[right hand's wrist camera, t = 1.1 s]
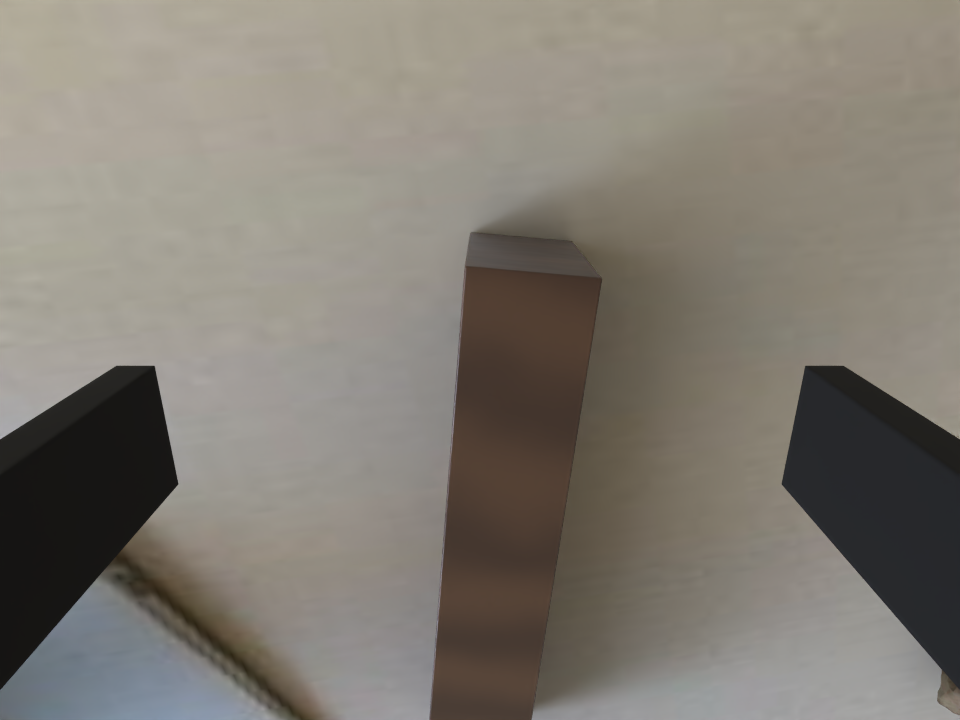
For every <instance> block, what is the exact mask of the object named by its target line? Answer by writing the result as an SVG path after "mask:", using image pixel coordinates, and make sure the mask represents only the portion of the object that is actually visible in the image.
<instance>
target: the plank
mask: <svg viewBox="0 0 960 720" xmlns="http://www.w3.org/2000/svg"><path fill="white" fill-rule="evenodd" d="M601 282H602V278H601V277H600V276H599V274H598V273H597V272H596V271H595V269H594V268H593V267H592V266H591V264H590V263H589V262H588V261H587V259H586V258H585V257H584V256H583V254H582V253H581V252H580V251H579V249H578V248H577V247H576V246H575V244H574V243H573V242H572V241H562V240H551V239H539V238H528V237H517V236H505V235H494V234H483V233H470V238H469V244H468V251H467V257H466V263H465V271H464V284H463V297H462V309H461V322H460V335H459V348H458V361H457V373H456V386H455V399H454V412H453V425H452V437H451V450H450V463H449V476H448V489H447V501H446V514H445V527H444V540H443V553H442V565H441V578H440V591H439V604H438V616H437V629H436V642H435V655H434V668H433V680H432V693H431V706H430V719H429V720H532V713H533V707H534V701H535V695H536V688H537V682H538V676H539V670H540V664H541V657H542V651H543V645H544V639H545V632H546V626H547V620H548V614H549V607H550V601H551V595H552V589H553V582H554V576H555V570H556V564H557V557H558V551H559V545H560V539H561V532H562V526H563V520H564V514H565V507H566V501H567V495H568V489H569V482H570V476H571V470H572V464H573V457H574V451H575V445H576V439H577V432H578V426H579V420H580V414H581V407H582V401H583V395H584V389H585V382H586V376H587V370H588V364H589V357H590V351H591V345H592V339H593V332H594V326H595V320H596V314H597V307H598V301H599V295H600V289H601Z"/></svg>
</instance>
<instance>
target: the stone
mask: <svg viewBox="0 0 960 720" xmlns="http://www.w3.org/2000/svg"><path fill="white" fill-rule="evenodd" d="M937 701H938V702H939V704H941V705H943V706H945V707H946V708H948V709H949V710H950V711H952V712H953V713H955V714H958V715H960V690H959V689H958V687H957V686H956V685H955V684H954V683H953V682H952V680H951V679H950V678H949V677H948V676H947V675H946V674H945V672H944V671H943V670H942V675H941V687H940V689H939V691H938V698H937Z"/></svg>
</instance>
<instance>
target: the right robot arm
mask: <svg viewBox="0 0 960 720" xmlns="http://www.w3.org/2000/svg"><path fill="white" fill-rule="evenodd" d="M177 485H178V480H177V475H176V470H175V465H174V460H173V455H172V450H171V445H170V440H169V435H168V430H167V425H166V420H165V415H164V410H163V405H162V400H161V395H160V391H159V386H158V381H157V376H156V371H155V366H116V367H114V368H112V369H111V370H109V371H108V372H106V373H104V374H103V375H101V376H100V377H98V378H97V379H95V380H93V381H92V382H90V383H89V384H87V385H86V386H84V387H82V388H81V389H79V390H78V391H76V392H74V393H73V394H71V395H70V396H68V397H67V398H65V399H63V400H62V401H60V402H59V403H57V404H56V405H54V406H52V407H51V408H49V409H48V410H46V411H44V412H43V413H41V414H40V415H38V416H37V417H35V418H33V419H32V420H30V421H29V422H27V423H26V424H24V425H22V426H21V427H19V428H18V429H16V430H14V431H13V432H11V433H10V434H8V435H7V436H5V437H3V438H2V439H0V690H1V689H2V687H3V686H4V685H5V684H6V683H7V682H8V680H9V679H10V678H11V677H12V676H13V675H14V674H15V672H16V671H17V670H18V669H19V668H20V667H21V665H22V664H23V663H24V662H25V661H26V660H27V659H28V657H29V656H30V655H31V654H32V653H33V652H34V650H35V649H36V648H37V647H38V646H39V645H40V644H41V642H42V641H43V640H44V639H45V638H46V637H47V635H48V634H49V633H50V632H51V631H52V630H53V628H54V627H55V626H56V625H57V624H58V623H59V622H60V620H61V619H62V618H63V617H64V616H65V615H66V613H67V612H68V611H69V610H70V609H71V608H72V607H73V605H74V604H75V603H76V602H77V601H78V600H79V598H80V597H81V596H82V595H83V594H84V593H85V592H86V590H87V589H88V588H89V587H90V586H91V585H92V583H93V582H94V581H95V580H96V579H97V578H98V576H99V575H100V574H101V573H102V572H103V571H104V570H105V568H106V567H107V566H108V565H109V564H110V563H111V561H112V560H113V559H114V558H115V557H116V556H117V555H118V553H119V552H120V551H121V550H122V549H123V548H124V546H125V545H126V544H127V543H128V542H129V541H130V540H131V538H132V537H133V536H134V535H135V534H136V533H137V531H138V530H139V529H140V528H141V527H142V526H143V524H144V523H145V522H146V521H147V520H148V519H149V518H150V516H151V515H152V514H153V513H154V512H155V511H156V509H157V508H158V507H159V506H160V505H161V504H162V503H163V501H164V500H165V499H166V498H167V497H168V496H169V494H170V493H171V492H172V491H173V490H174V489H175V488H176V486H177ZM782 485H783V486H784V488H785V489H786V490H787V491H788V492H789V493H790V494H791V496H792V497H793V498H794V499H795V500H796V501H797V503H798V504H799V505H800V506H801V507H802V508H803V509H804V511H805V512H806V513H807V514H808V515H809V516H810V518H811V519H812V520H813V521H814V522H815V523H816V524H817V526H818V527H819V528H820V529H821V530H822V531H823V533H824V534H825V535H826V536H827V537H828V538H829V540H830V541H831V542H832V543H833V544H834V545H835V546H836V548H837V549H838V550H839V551H840V552H841V553H842V555H843V556H844V557H845V558H846V559H847V560H848V561H849V563H850V564H851V565H852V566H853V567H854V568H855V570H856V571H857V572H858V573H859V574H860V575H861V576H862V578H863V579H864V580H865V581H866V582H867V583H868V585H869V586H870V587H871V588H872V589H873V590H874V592H875V593H876V594H877V595H878V596H879V597H880V598H881V600H882V601H883V602H884V603H885V604H886V605H887V607H888V608H889V609H890V610H891V611H892V612H893V613H894V615H895V616H896V617H897V618H898V619H899V620H900V622H901V623H902V624H903V625H904V626H905V627H906V628H907V630H908V631H909V632H910V633H911V634H912V635H913V637H914V638H915V639H916V640H917V641H918V642H919V644H920V645H921V646H922V647H923V648H924V649H925V650H926V652H927V653H928V654H929V655H930V656H931V657H932V659H933V660H934V661H935V662H936V663H937V664H938V665H939V667H940V668H941V669H942V670H943V671H944V672H945V674H946V675H947V676H948V677H949V678H950V679H951V680H952V682H953V683H954V684H955V685H956V686H957V687H958V689H959V690H960V439H958V438H957V437H955V436H953V435H952V434H950V433H949V432H947V431H946V430H944V429H942V428H941V427H939V426H938V425H936V424H934V423H933V422H931V421H930V420H928V419H927V418H925V417H923V416H922V415H920V414H919V413H917V412H916V411H914V410H912V409H911V408H909V407H908V406H906V405H904V404H903V403H901V402H900V401H898V400H897V399H895V398H893V397H892V396H890V395H889V394H887V393H886V392H884V391H882V390H881V389H879V388H878V387H876V386H874V385H873V384H871V383H870V382H868V381H867V380H865V379H863V378H862V377H860V376H859V375H857V374H856V373H854V372H852V371H851V370H849V369H848V368H846V367H844V366H805V371H804V376H803V381H802V386H801V391H800V395H799V400H798V405H797V410H796V415H795V420H794V425H793V430H792V435H791V440H790V445H789V450H788V455H787V460H786V465H785V470H784V475H783V480H782Z"/></svg>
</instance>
